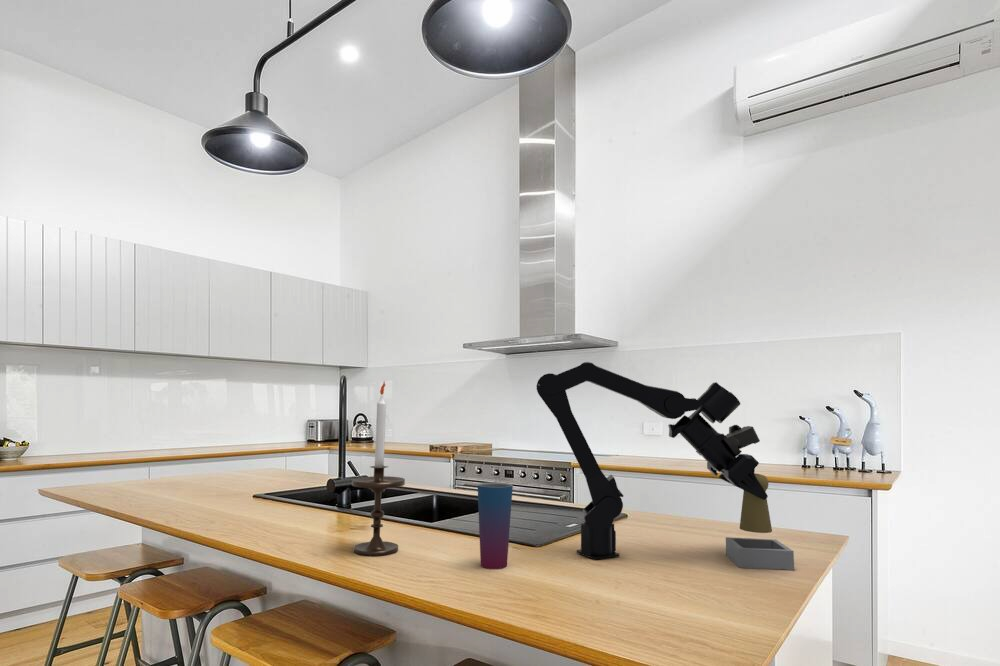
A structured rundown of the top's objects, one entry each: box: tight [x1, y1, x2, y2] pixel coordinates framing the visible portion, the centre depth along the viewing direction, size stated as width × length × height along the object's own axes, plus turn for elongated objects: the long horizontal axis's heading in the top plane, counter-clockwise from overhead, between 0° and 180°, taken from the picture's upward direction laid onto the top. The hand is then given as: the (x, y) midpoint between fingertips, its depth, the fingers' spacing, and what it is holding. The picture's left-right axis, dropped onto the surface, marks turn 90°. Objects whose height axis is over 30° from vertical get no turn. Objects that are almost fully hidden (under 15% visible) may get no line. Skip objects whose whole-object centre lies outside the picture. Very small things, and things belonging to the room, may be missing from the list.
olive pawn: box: [739, 472, 773, 534], centre depth 120 cm, size 6×6×11 cm
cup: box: [477, 481, 514, 570], centre depth 114 cm, size 7×7×15 cm
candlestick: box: [351, 380, 406, 557], centre depth 125 cm, size 11×11×35 cm
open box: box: [725, 536, 795, 571], centre depth 119 cm, size 10×10×4 cm
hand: (761, 496), depth 120 cm, fingers closed on olive pawn, 5 cm apart
